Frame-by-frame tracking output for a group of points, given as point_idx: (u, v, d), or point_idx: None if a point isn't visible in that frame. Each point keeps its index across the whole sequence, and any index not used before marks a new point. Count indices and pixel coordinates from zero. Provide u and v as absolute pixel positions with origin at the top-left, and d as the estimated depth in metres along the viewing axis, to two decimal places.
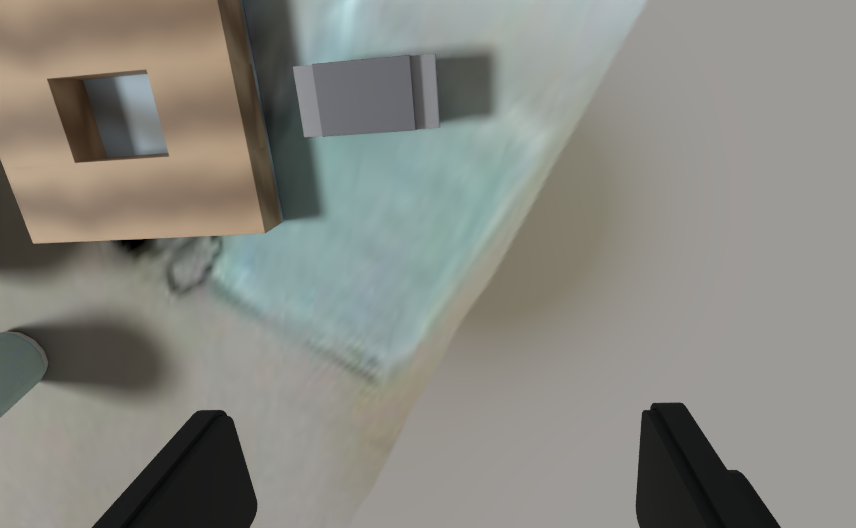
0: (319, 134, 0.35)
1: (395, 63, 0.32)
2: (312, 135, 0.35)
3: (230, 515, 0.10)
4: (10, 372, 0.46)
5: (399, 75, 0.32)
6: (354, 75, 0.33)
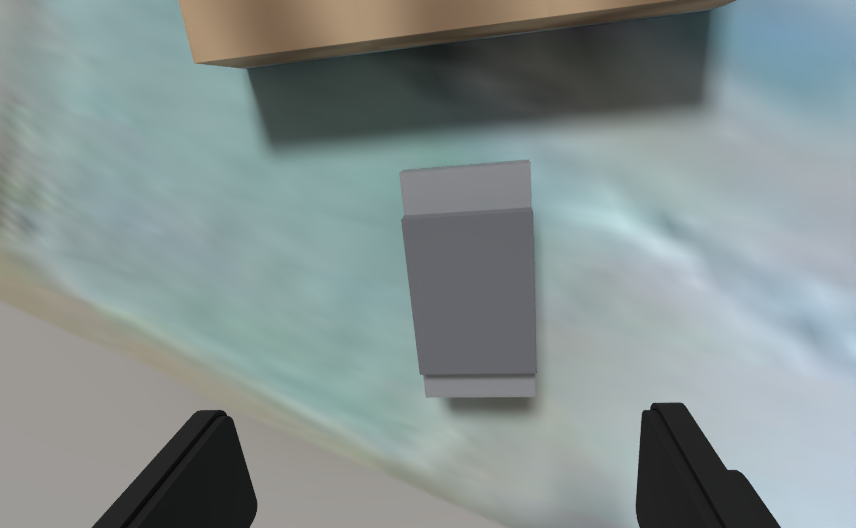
0: (406, 204, 0.18)
1: (525, 352, 0.19)
2: (403, 190, 0.18)
3: (230, 515, 0.10)
4: None
5: (505, 357, 0.19)
6: (509, 286, 0.18)
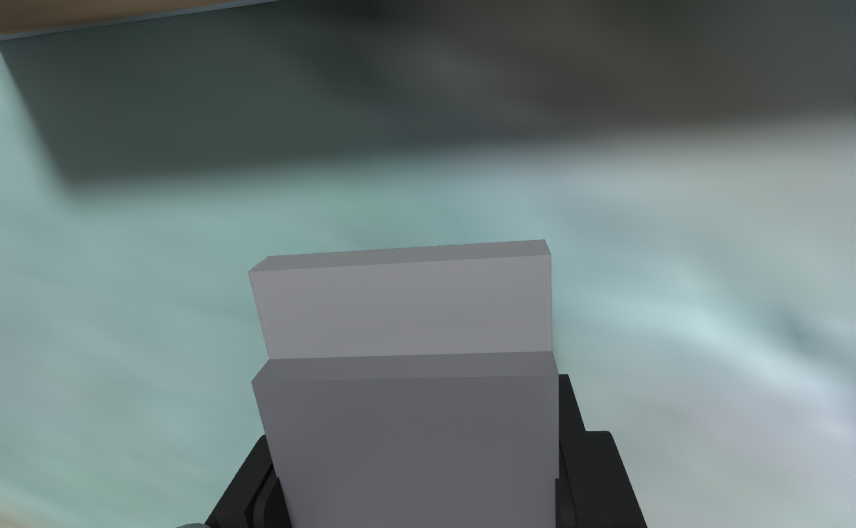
0: (270, 336, 0.08)
1: None
2: (261, 308, 0.08)
3: None
4: None
5: None
6: (501, 520, 0.08)
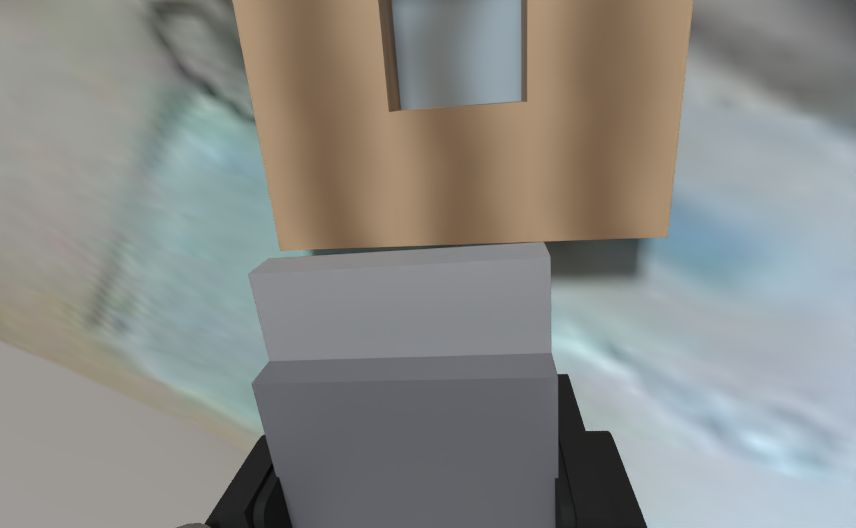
0: (270, 339, 0.08)
1: None
2: (261, 310, 0.08)
3: None
4: None
5: None
6: (501, 521, 0.08)
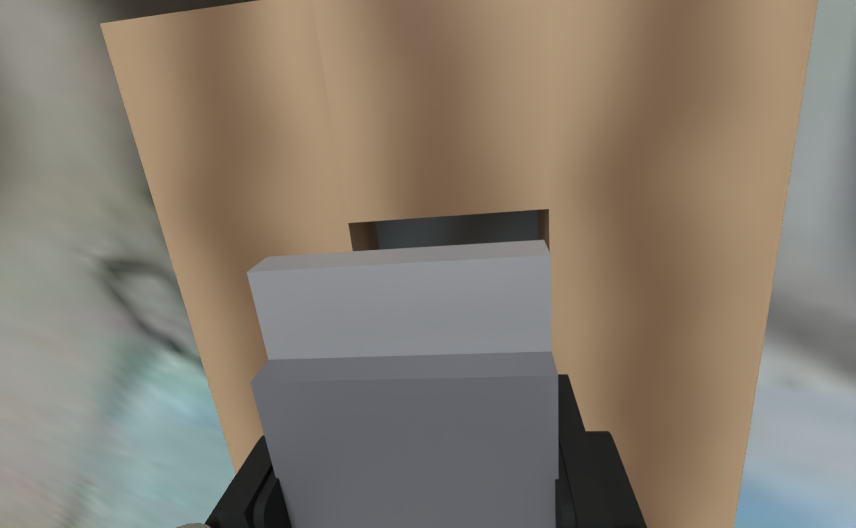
0: (269, 337, 0.08)
1: None
2: (260, 308, 0.08)
3: None
4: None
5: None
6: (501, 521, 0.08)
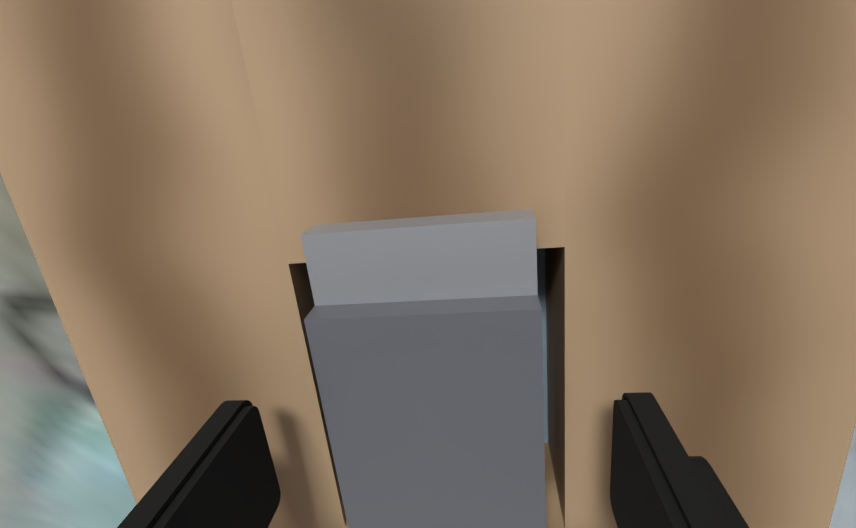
0: (316, 287, 0.10)
1: None
2: (310, 263, 0.10)
3: (257, 502, 0.10)
4: None
5: None
6: (499, 431, 0.10)
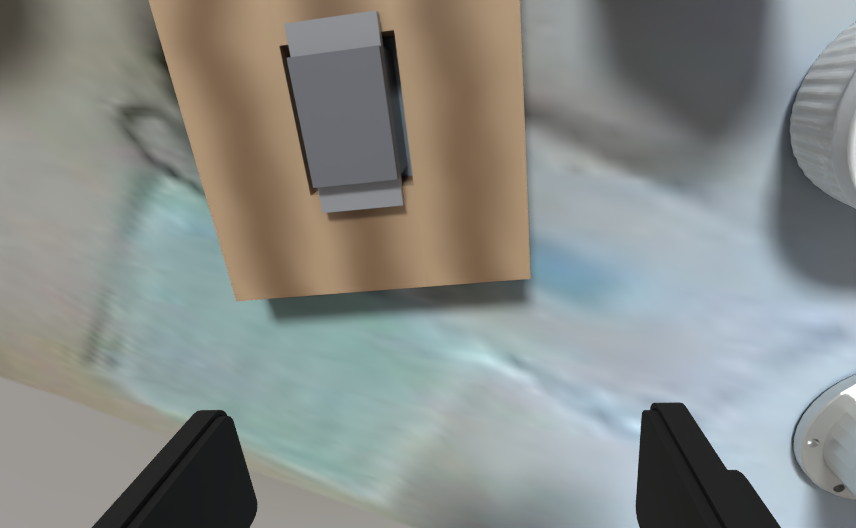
0: (291, 48, 0.25)
1: (387, 162, 0.26)
2: (288, 37, 0.25)
3: (230, 515, 0.10)
4: None
5: (374, 167, 0.26)
6: (369, 107, 0.25)
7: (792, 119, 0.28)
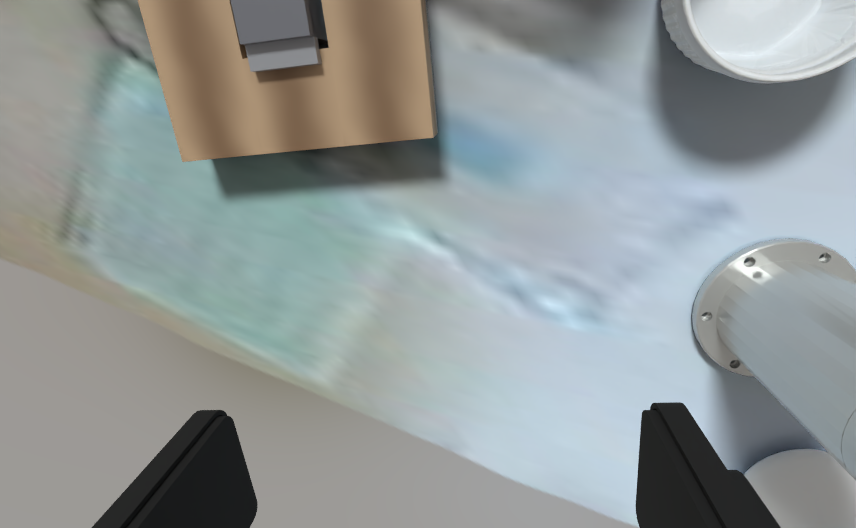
0: None
1: (300, 19, 0.30)
2: None
3: (230, 515, 0.10)
4: None
5: (289, 24, 0.31)
6: None
7: None
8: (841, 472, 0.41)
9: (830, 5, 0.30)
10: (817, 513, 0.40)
